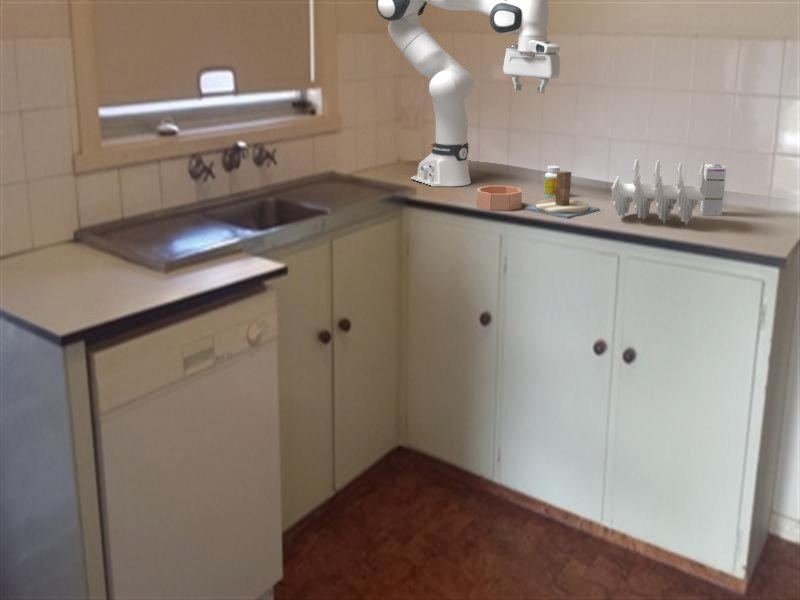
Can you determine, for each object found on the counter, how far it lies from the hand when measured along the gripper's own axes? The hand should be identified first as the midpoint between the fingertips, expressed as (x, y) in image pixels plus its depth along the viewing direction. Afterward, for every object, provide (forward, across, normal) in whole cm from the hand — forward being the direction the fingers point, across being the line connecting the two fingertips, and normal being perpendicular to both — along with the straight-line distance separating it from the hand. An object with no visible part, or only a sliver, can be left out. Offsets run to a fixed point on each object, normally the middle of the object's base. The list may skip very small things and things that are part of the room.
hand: (529, 91), depth 274 cm
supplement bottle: (+34, +6, +7) cm, 35 cm away
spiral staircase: (+33, +48, +2) cm, 59 cm away
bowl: (+34, +4, -17) cm, 38 cm away
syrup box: (+33, +54, +22) cm, 67 cm away
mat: (+33, +21, -7) cm, 40 cm away
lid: (+33, +21, -7) cm, 40 cm away
